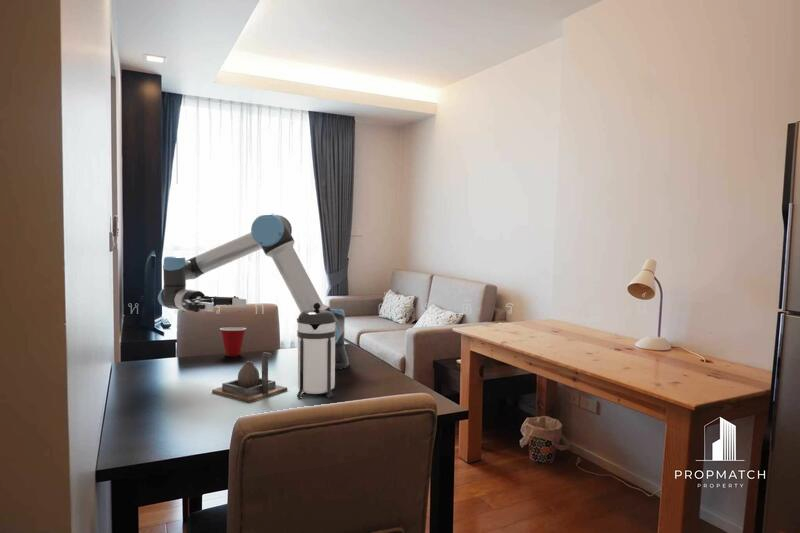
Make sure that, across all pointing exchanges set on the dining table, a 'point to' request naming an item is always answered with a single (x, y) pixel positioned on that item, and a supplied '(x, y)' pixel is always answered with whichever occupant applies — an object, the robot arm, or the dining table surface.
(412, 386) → the dining table surface
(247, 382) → the vase
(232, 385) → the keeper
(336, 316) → the robot arm
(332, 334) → the coffee press
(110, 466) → the dining table surface
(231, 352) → the plastic cup
